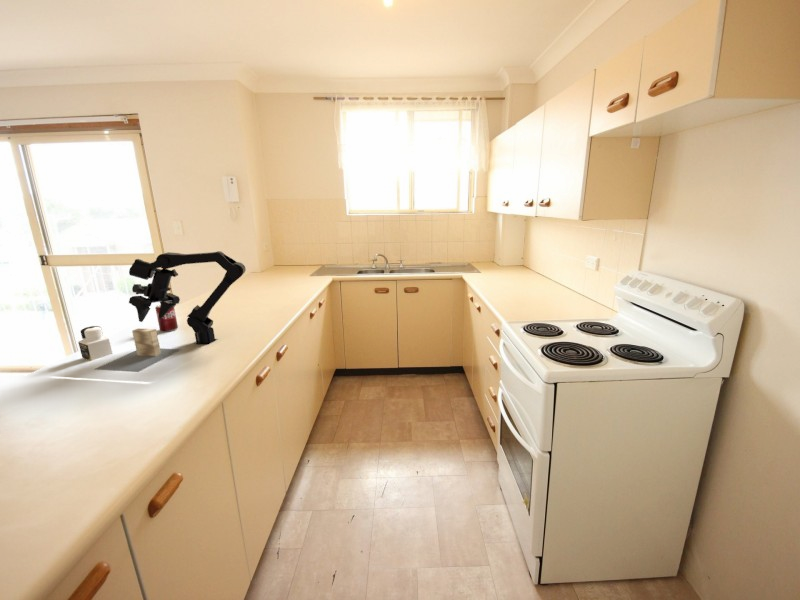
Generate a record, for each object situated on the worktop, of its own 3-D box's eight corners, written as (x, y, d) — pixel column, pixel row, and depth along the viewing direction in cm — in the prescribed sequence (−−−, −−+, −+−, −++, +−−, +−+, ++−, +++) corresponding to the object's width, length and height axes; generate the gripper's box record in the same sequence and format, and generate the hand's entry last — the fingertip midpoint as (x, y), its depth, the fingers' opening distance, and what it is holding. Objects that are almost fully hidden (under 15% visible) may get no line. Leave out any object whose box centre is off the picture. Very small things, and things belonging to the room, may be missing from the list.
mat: (182, 350, 141) (181, 349, 141) (138, 373, 122) (138, 371, 121) (142, 349, 144) (142, 347, 143) (94, 370, 124) (93, 369, 124)
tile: (161, 353, 137) (156, 329, 134) (155, 356, 134) (150, 331, 132) (143, 352, 138) (137, 328, 136) (137, 355, 136) (132, 330, 133)
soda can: (181, 327, 170) (177, 303, 167) (170, 332, 163) (165, 307, 160) (167, 327, 171) (163, 303, 168) (156, 332, 164) (151, 307, 161)
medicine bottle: (82, 358, 135) (74, 329, 132) (104, 352, 141) (97, 323, 138) (91, 362, 132) (83, 331, 129) (113, 355, 138) (106, 326, 135)
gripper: (162, 275, 149) (152, 309, 151) (121, 276, 131) (111, 315, 133) (185, 285, 148) (175, 319, 150) (147, 287, 130) (136, 326, 132)
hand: (150, 319), depth 141 cm, fingers open, 9 cm apart
